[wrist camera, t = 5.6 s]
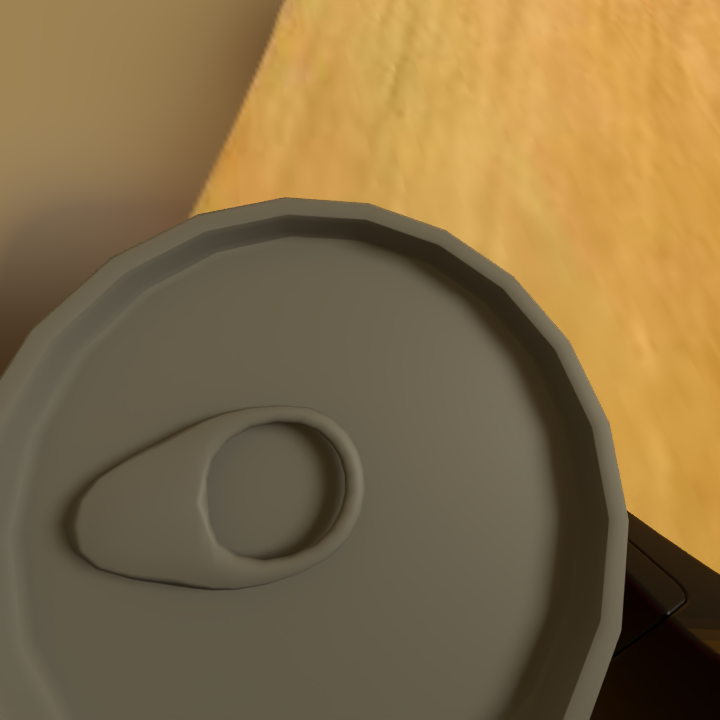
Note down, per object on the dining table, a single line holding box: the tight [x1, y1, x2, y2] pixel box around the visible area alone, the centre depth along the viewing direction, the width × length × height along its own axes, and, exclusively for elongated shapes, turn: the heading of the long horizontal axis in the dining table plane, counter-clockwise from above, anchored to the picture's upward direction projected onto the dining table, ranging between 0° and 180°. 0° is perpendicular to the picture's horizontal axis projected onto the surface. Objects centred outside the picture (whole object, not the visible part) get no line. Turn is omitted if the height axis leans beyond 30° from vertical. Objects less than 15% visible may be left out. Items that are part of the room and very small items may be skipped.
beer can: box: [0, 197, 629, 720], centre depth 8 cm, size 7×7×12 cm
